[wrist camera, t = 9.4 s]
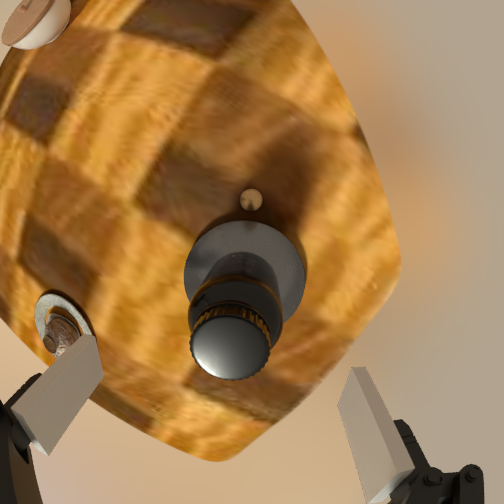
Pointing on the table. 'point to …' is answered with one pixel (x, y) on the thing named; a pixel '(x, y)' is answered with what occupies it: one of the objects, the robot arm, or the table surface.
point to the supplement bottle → (235, 317)
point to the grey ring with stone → (58, 324)
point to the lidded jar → (36, 23)
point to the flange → (254, 241)
